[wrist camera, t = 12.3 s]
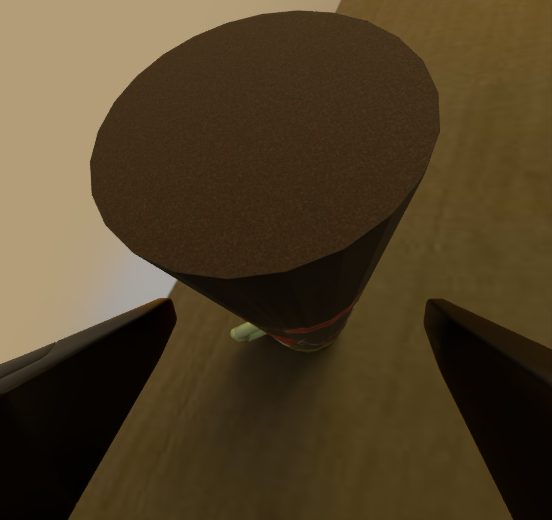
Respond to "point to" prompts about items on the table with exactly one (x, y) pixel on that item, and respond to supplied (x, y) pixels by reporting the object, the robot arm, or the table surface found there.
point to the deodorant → (270, 164)
